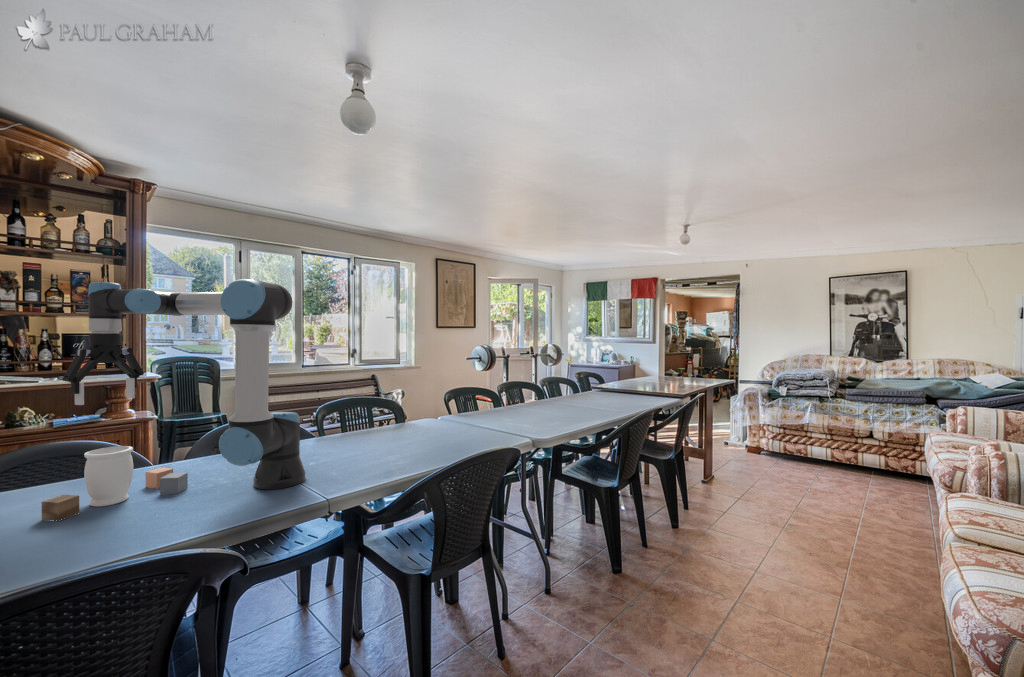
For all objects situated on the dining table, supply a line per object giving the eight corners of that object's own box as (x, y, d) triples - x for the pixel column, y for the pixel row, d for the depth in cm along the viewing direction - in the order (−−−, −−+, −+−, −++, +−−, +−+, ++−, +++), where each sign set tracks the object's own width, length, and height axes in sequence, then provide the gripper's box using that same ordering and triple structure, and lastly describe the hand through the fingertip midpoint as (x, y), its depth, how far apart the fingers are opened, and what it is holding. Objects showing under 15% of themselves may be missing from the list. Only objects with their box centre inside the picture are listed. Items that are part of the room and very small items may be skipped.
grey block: (187, 488, 140) (187, 472, 140) (178, 494, 135) (178, 477, 135) (170, 489, 139) (170, 473, 139) (160, 494, 134) (159, 478, 134)
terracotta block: (173, 484, 144) (173, 468, 144) (157, 489, 139) (157, 473, 139) (162, 482, 145) (161, 467, 145) (145, 487, 140) (145, 471, 140)
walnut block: (79, 513, 120) (79, 495, 120) (58, 521, 115) (58, 502, 115) (63, 512, 121) (63, 494, 120) (41, 520, 116) (41, 501, 116)
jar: (103, 510, 122) (103, 456, 122) (74, 507, 124) (74, 453, 124) (142, 496, 133) (142, 446, 132) (115, 493, 135) (114, 444, 135)
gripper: (140, 332, 150) (140, 395, 150) (45, 332, 126) (46, 407, 126) (156, 332, 148) (157, 396, 148) (63, 332, 124) (63, 408, 124)
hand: (106, 401), depth 137 cm, fingers open, 13 cm apart
